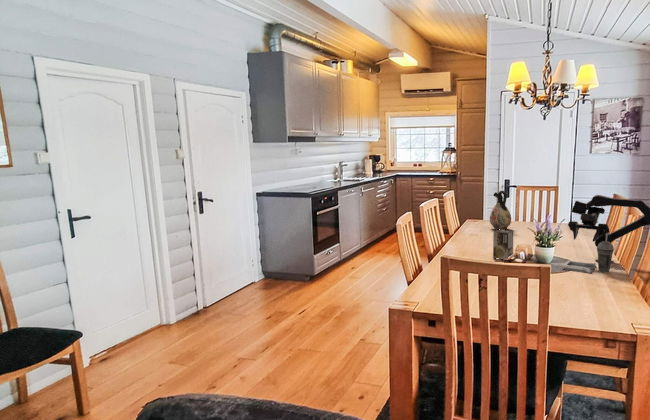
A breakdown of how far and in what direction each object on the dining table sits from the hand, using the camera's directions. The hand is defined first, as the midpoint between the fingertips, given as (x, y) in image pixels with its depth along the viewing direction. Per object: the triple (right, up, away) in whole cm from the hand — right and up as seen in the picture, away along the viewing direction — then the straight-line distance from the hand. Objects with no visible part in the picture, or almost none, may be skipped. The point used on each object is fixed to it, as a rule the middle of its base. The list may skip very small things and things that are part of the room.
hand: (583, 240), depth 236 cm
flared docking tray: (-4, -14, -4) cm, 15 cm away
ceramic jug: (-3, +1, +103) cm, 103 cm away
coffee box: (-35, -12, +19) cm, 42 cm away
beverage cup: (+4, -15, -11) cm, 19 cm away
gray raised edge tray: (-4, -14, -4) cm, 15 cm away
